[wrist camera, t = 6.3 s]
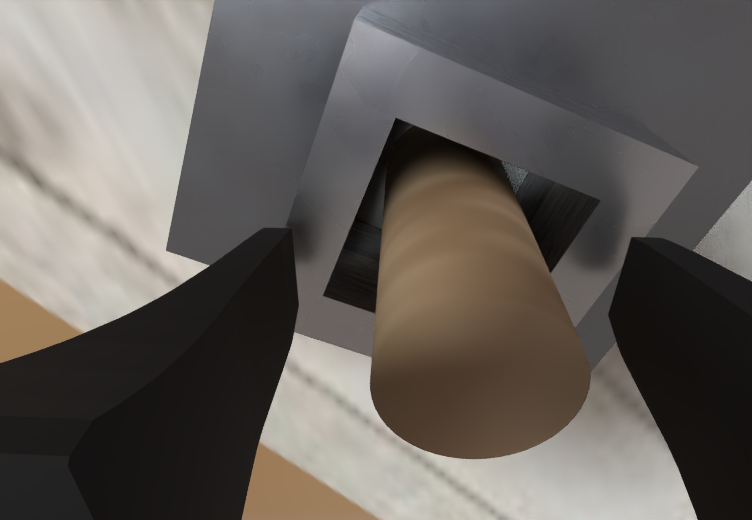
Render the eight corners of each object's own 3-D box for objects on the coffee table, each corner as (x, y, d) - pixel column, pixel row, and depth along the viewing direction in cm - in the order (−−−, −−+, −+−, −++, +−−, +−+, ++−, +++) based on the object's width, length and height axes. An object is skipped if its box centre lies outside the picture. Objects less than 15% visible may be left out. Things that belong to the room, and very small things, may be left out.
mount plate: (1057, -293, 10) (1459, -439, 6) (561, 349, 19) (600, 450, 15) (397, -739, 8) (390, -1375, 4) (190, 219, 17) (127, 299, 13)
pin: (509, 122, 15) (621, 312, 7) (486, 226, 17) (557, 466, 9) (392, 112, 15) (378, 290, 7) (381, 216, 17) (363, 449, 9)
